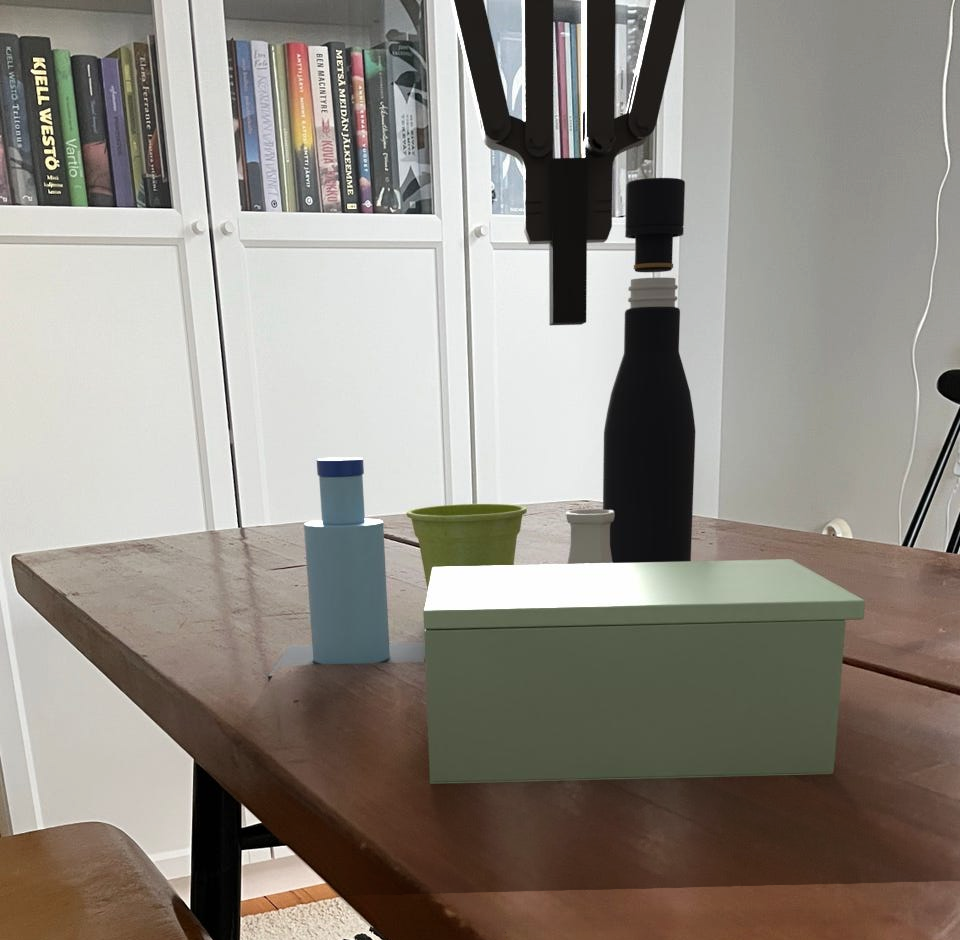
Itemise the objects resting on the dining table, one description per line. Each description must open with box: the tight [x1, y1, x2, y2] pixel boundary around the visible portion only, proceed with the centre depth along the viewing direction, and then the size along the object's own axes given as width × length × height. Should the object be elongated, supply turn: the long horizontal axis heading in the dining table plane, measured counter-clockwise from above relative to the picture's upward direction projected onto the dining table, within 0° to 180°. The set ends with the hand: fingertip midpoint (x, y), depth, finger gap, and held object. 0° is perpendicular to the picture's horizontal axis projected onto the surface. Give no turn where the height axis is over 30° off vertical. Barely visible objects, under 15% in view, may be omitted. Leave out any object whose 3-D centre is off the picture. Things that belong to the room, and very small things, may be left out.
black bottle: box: [602, 177, 696, 563], centre depth 88 cm, size 6×6×30 cm
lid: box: [422, 558, 866, 630], centre depth 62 cm, size 19×14×1 cm
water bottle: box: [303, 457, 390, 665], centre depth 84 cm, size 5×5×13 cm
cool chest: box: [423, 620, 847, 785], centre depth 63 cm, size 19×14×8 cm
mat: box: [267, 641, 425, 682], centre depth 86 cm, size 10×10×1 cm
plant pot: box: [406, 503, 528, 591], centre depth 100 cm, size 9×9×9 cm
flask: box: [565, 508, 615, 564], centre depth 82 cm, size 7×7×10 cm
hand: (567, 323), depth 57 cm, fingers closed
